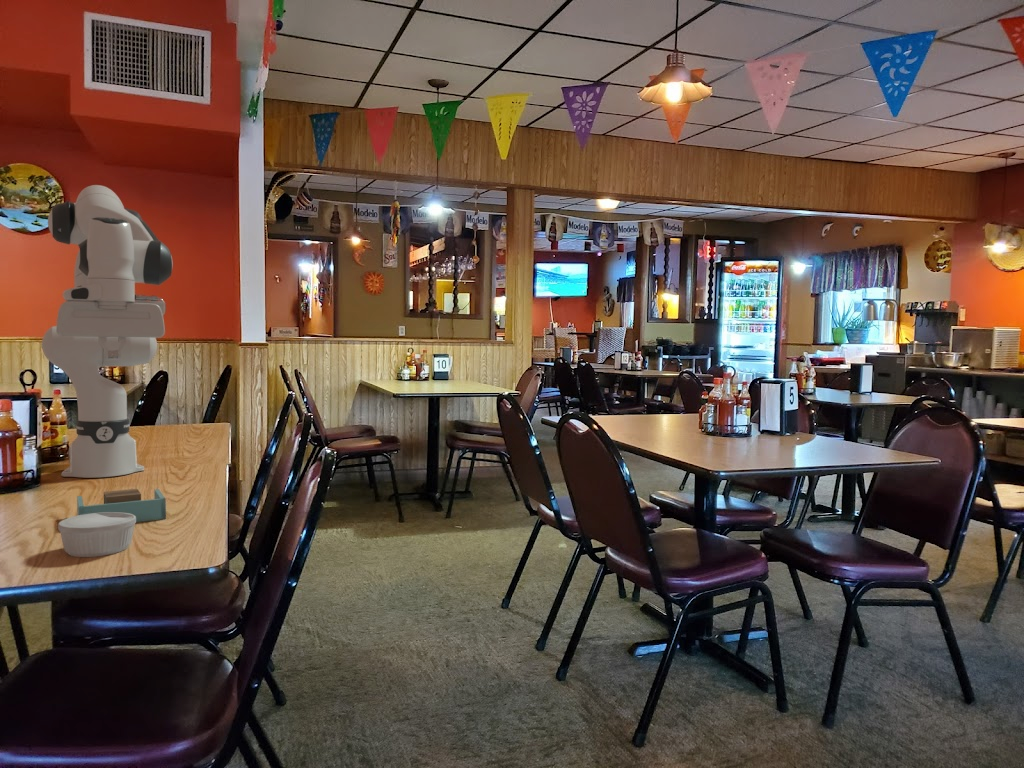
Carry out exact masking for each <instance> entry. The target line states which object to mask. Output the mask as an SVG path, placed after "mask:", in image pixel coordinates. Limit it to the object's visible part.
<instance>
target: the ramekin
mask: <svg viewBox="0 0 1024 768" xmlns="http://www.w3.org/2000/svg"><path fill="white" fill-rule="evenodd" d="M136 523H137V522H136V516H135V515H133V514H129V513H121V512H101V513H91V514H84V515H78V516H77V515H74V516H70V517H68V518H67V517H66V518H64V519H62V520H61V521H59V522H58V525H57V527H58V531H59V532H60V536H61V541H62V545H63V550H64V552H65V553H67V554H68V555H69V556H71V557H75V558H96V557H104V556H109V555H114V554H118V553H120V552H123V551H125V550H127V549H128V548H129V546H130V545H131V544H132V540H133V535H134V529H135V524H136Z"/></svg>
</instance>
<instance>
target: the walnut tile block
mask: <svg viewBox="0 0 1024 768" xmlns="http://www.w3.org/2000/svg"><path fill="white" fill-rule="evenodd" d="M140 500H142V493H141V492H140V491H139V489H138V488H131V489H129V488H128V489H118V490H108V491H107V490H105V491H103V504H109V503H119V502H130V501H140Z"/></svg>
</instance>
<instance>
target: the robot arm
mask: <svg viewBox="0 0 1024 768" xmlns="http://www.w3.org/2000/svg"><path fill="white" fill-rule="evenodd" d="M47 226H48V229H49V233H50V234H51V235H52V238H53V239H54V240H55V241H56V242H57V243H61V244H65V245H70V244H73V245H75V246H76V245H77V246H78V248H79V250H78V252H77V255H76V258H75V259H76V260H75V264H74V274H73V275H74V277H73V279H74V287H72V288H68V289H65V290H64V291H63V292H62V298H63V299H64V300H65V301H63V302H62V303H61V305H59V308H58V312H57V317H56V325H53V326H50V328H48V329H47V331H46V332H45V333H44V335H43V337H42V340H41V349H42V353H43V354H44V356H45V358H46V359H47V360H48V361H49V362H50V363H51V364H53V365H55V366H56V367H57V368H59V369H60V370H61V371H63V373H64V374H66V375H67V377H68V378H69V380H70V382H71V384H72V385H73V387H74V390H75V395H76V401H77V402H76V403H77V416H78V418H77V419H78V420H77V421H76V425H75V429H76V431H75V432H76V435H77V436H76V437H75V439H74V440H73V441H72V442H71V443H70V446H69V447H68V458H69V459H68V463H69V466H68V467H67V468H65V469H64V470H63V471H62V472H61V477H63V478H64V477H72V478H73V477H74V478H85V479H86V478H89V479H90V478H91V479H92V478H95V479H96V478H110V477H117V476H124V475H129V474H133V473H137V472H141V471H145V465H142V464H139V463H138V459H137V458H138V457H137V443H136V442H137V441H136V439H134V438H133V437H132V436H131V435H130V434H129V432H130V425H131V424H130V420H129V418H128V397H127V396H128V394H127V391H126V389H125V387H124V386H123V385H122V384H120V383H117V382H116V381H115V380H111V379H109V378H107V377H104V376H103V375H101V373H100V372H99V368H102V367H133V366H135V367H136V366H140V365H144V364H150V362H151V361H152V360H154V358H155V356H156V354H157V351H158V341H157V338H160V339H161V338H163V337H164V335H166V329H165V328H166V327H165V321H164V315H165V314H166V302H165V301H164V300H163V298H161V297H159V296H158V295H143V294H136V288H135V287H136V286H135V285H136V283H138V284H146V285H154V286H160V285H162V284H163V283H165V282H166V281H167V280H169V278H170V277H171V276H172V271H173V264H174V263H173V257H172V254H171V250H170V249H169V247H168V246H167V245H165V243H163V242H162V240H159V238H158V237H157V236H156V235H155V233H154V231H152V229H151V228H150V226H149V225H148V224H147V222H145V221H144V220H143V218H142V216H141V214H139V212H137V211H135V210H133V209H130V208H125V206H124V204H123V202H122V201H121V199H120V197H119V196H118V195H117V193H116V192H114V191H113V190H112V189H111V188H109V187H107V186H105V185H100V184H92V185H89V186H86V187H85V188H83V189H82V190H81V191H80V192H79V194H78V195H77V198H76V201H75V202H72V201H70V200H66V201H65V202H60V203H57V204H55V205H54V206H53V207H51V210H50V211H49V214H48V217H47Z"/></svg>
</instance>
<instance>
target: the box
mask: <svg viewBox="0 0 1024 768" xmlns="http://www.w3.org/2000/svg"><path fill="white" fill-rule="evenodd" d="M153 493H154V495H153V496H154V498H151V499H141V500H140V501H130V502H119V503H109V504H104V503H100V504H90V505H84V500H83V496H82V495H77V496H76V508H77V509H76V511H77V513H76V514H77V515H76V516H78V515H84V514H91V513H101V512H121V513H129V514H133V515H135V516H136V523H140V522H150V521H158V520H160V521H161V520H167V509H166V507H167V506H166V505H167V503H166V502H167V501H166V497H165V496H164V495H163V493H162V492H161V490H160V489H159V488H155V489H154V491H153Z"/></svg>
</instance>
